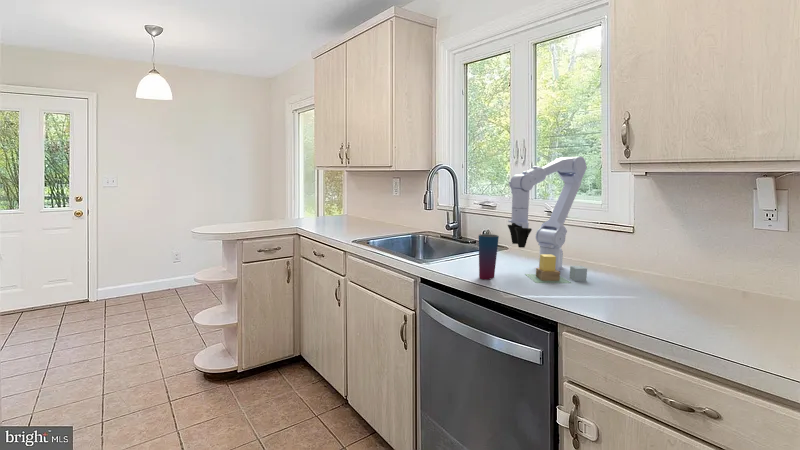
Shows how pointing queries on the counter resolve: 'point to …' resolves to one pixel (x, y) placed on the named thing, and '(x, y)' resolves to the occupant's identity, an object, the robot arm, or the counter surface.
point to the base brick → (548, 275)
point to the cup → (487, 255)
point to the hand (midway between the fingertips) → (518, 245)
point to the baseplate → (537, 280)
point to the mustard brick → (547, 262)
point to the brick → (578, 273)
